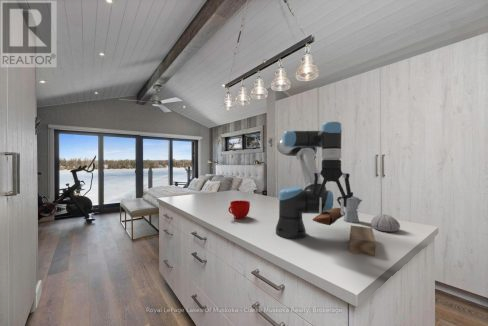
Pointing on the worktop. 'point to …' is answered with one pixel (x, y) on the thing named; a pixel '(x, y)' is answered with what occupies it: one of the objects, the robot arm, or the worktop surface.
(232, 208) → the ceramic cup
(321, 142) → the robot arm
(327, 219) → the sunglasses case
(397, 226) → the sea urchin shell
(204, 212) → the worktop surface
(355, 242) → the walnut block
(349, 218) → the coffee maker
